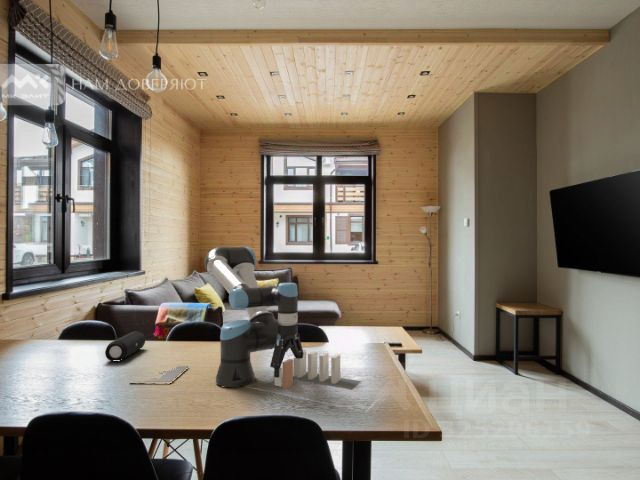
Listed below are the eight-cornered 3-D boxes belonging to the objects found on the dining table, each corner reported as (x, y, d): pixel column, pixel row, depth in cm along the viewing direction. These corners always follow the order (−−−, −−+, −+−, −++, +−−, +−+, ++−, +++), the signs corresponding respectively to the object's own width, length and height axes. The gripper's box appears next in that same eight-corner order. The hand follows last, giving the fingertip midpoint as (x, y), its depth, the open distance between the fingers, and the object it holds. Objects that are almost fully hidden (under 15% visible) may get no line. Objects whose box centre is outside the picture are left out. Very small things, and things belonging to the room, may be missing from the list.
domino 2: (307, 379, 154) (307, 354, 154) (313, 375, 159) (313, 351, 159) (311, 379, 153) (311, 354, 154) (317, 376, 158) (317, 351, 158)
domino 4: (331, 383, 149) (331, 357, 150) (336, 379, 154) (336, 354, 154) (334, 383, 149) (334, 357, 149) (340, 380, 153) (340, 354, 153)
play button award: (188, 366, 170) (170, 381, 150) (188, 369, 170) (170, 385, 150) (152, 366, 170) (129, 381, 150) (152, 369, 170) (129, 385, 150)
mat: (290, 379, 155) (290, 378, 155) (302, 372, 164) (302, 371, 164) (351, 390, 143) (351, 389, 143) (361, 382, 152) (361, 381, 152)
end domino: (282, 389, 144) (282, 362, 145) (289, 384, 149) (289, 358, 149) (285, 389, 144) (285, 362, 144) (293, 385, 148) (293, 359, 148)
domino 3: (319, 381, 152) (319, 355, 152) (325, 377, 156) (325, 352, 156) (323, 381, 151) (323, 356, 151) (328, 377, 156) (328, 353, 156)
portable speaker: (124, 363, 177) (125, 341, 178) (102, 363, 177) (103, 342, 177) (146, 349, 203) (147, 330, 203) (127, 349, 202) (127, 330, 202)
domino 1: (296, 377, 157) (296, 352, 157) (303, 373, 161) (303, 349, 161) (300, 377, 156) (300, 352, 156) (306, 374, 160) (306, 350, 161)
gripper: (277, 330, 134) (277, 392, 134) (311, 319, 156) (312, 372, 155) (260, 328, 138) (260, 388, 137) (296, 317, 159) (296, 369, 159)
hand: (287, 380), depth 146 cm, fingers open, 12 cm apart
